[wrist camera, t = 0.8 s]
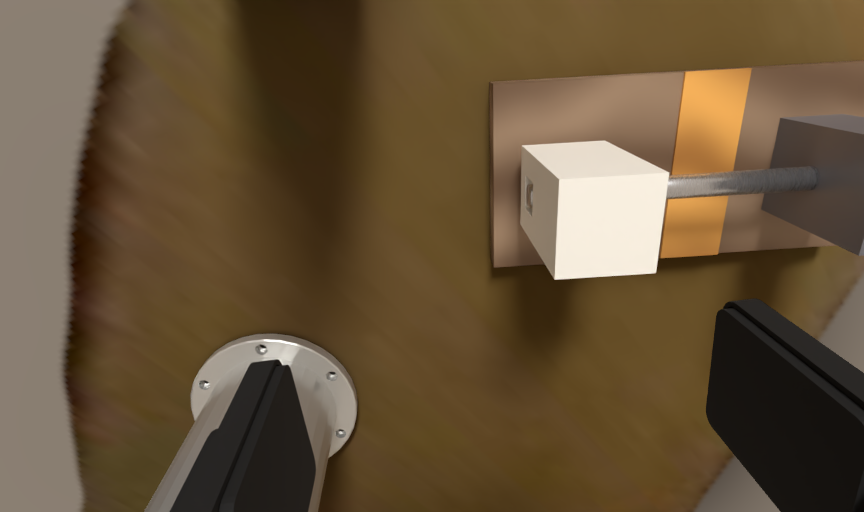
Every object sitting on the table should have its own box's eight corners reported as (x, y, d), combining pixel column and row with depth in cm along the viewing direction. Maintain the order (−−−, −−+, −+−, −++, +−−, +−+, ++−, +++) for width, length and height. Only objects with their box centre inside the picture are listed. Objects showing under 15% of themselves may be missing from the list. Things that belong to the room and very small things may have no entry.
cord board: (820, 238, 37) (838, 246, 35) (490, 259, 36) (494, 268, 35) (868, 59, 32) (891, 60, 30) (489, 81, 31) (493, 83, 30)
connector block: (819, 205, 34) (933, 250, 27) (760, 209, 34) (858, 255, 27) (843, 113, 32) (974, 135, 24) (780, 117, 32) (893, 140, 24)
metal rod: (798, 187, 30) (815, 193, 29) (525, 204, 30) (531, 211, 29) (804, 163, 30) (821, 169, 29) (526, 181, 30) (531, 187, 28)
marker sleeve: (598, 219, 32) (656, 272, 25) (520, 224, 32) (554, 279, 25) (604, 140, 30) (669, 172, 23) (521, 145, 30) (559, 179, 23)
